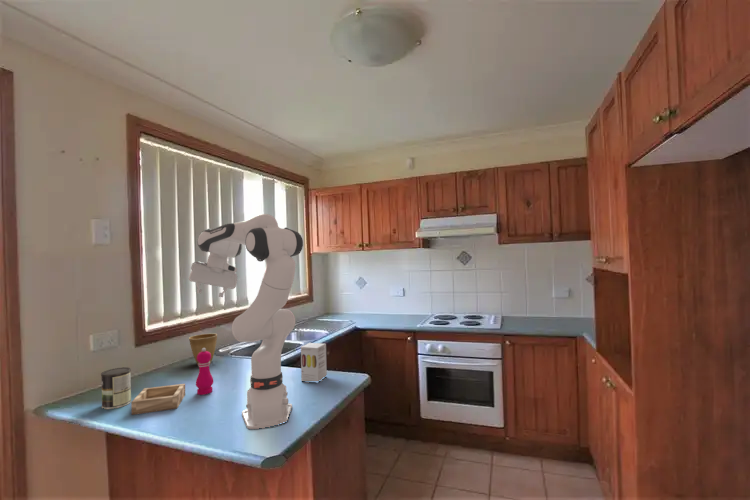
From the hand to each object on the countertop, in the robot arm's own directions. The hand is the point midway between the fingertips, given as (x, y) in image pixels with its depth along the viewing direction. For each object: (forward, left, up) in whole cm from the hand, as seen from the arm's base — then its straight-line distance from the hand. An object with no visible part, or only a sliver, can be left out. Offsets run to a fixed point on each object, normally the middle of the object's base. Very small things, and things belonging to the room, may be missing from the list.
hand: (210, 295), depth 166 cm
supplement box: (0, -46, -44) cm, 63 cm away
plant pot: (+54, +11, -44) cm, 70 cm away
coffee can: (+1, +37, -44) cm, 58 cm away
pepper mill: (+2, +3, -44) cm, 44 cm away
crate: (-6, +19, -44) cm, 48 cm away
